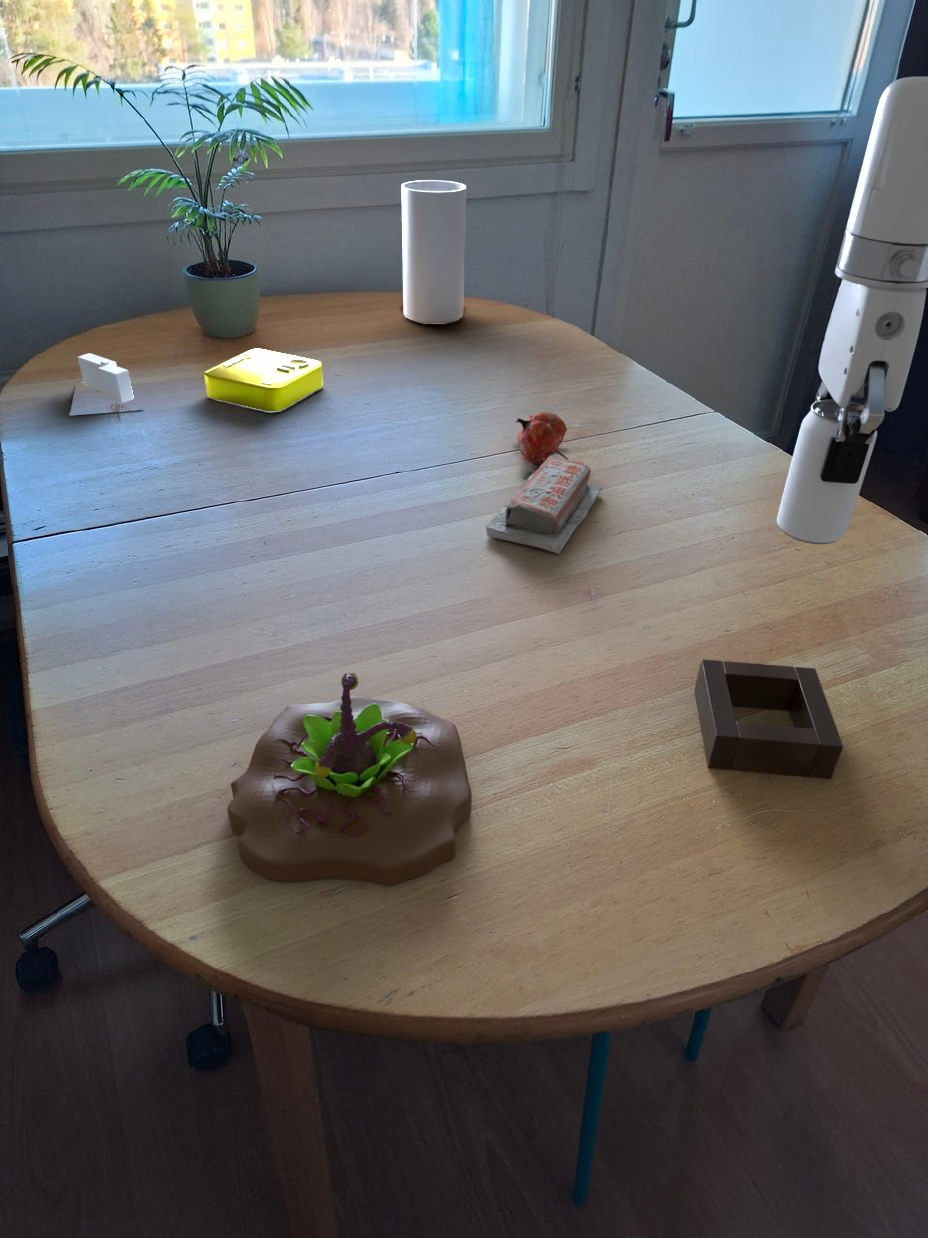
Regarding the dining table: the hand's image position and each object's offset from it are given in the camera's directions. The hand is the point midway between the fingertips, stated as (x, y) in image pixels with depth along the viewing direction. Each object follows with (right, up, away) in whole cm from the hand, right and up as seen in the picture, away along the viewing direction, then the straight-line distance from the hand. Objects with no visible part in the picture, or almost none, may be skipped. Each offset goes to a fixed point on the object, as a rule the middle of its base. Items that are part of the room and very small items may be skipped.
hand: (829, 461), depth 80 cm
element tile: (-67, +24, +67) cm, 98 cm away
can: (0, -6, +4) cm, 7 cm away
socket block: (-6, -25, +2) cm, 26 cm away
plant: (-43, -29, -5) cm, 52 cm away
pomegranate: (-22, +9, +49) cm, 54 cm away
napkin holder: (-92, +22, +64) cm, 115 cm away
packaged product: (-23, -1, +35) cm, 42 cm away
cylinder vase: (-40, +49, +103) cm, 121 cm away
